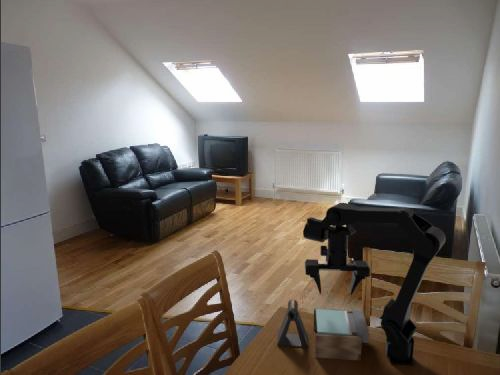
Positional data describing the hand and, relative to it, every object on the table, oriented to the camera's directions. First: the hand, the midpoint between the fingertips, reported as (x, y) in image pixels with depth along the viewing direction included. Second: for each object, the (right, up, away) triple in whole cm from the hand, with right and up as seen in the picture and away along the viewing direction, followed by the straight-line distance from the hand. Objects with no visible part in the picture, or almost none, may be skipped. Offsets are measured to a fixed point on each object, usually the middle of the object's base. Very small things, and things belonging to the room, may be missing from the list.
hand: (335, 293), depth 119 cm
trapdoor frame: (-1, -14, -3) cm, 14 cm away
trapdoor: (+1, -9, -4) cm, 10 cm away
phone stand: (-13, -14, -1) cm, 19 cm away
